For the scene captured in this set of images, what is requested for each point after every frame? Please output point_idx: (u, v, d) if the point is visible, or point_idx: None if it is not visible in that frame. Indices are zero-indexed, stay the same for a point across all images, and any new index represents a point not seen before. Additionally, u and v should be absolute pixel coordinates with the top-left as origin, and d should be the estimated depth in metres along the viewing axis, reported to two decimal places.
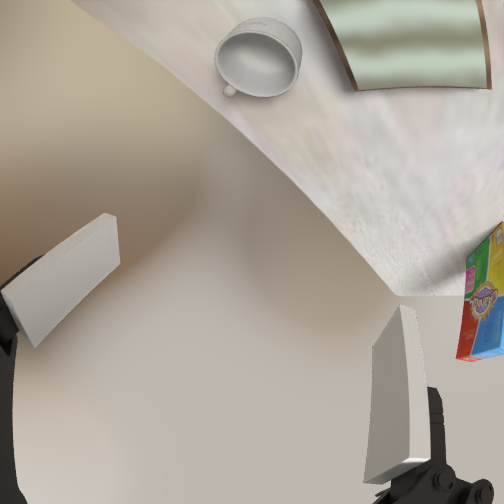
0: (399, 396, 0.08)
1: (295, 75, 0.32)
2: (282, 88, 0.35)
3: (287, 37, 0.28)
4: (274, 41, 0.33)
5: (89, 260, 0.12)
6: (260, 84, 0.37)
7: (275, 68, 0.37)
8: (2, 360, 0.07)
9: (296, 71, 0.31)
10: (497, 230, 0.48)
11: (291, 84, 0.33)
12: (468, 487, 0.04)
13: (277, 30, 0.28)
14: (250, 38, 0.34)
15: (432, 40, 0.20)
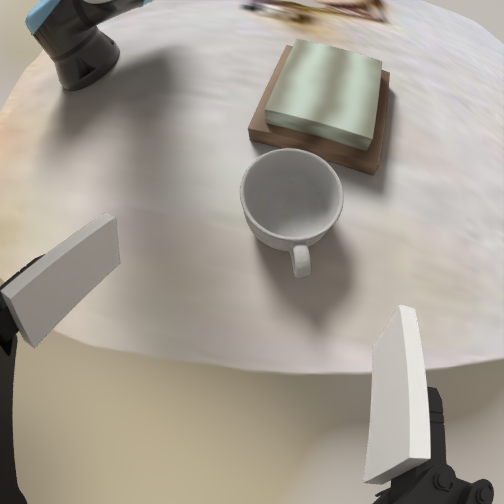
0: (399, 396, 0.08)
1: (329, 167, 0.31)
2: (338, 197, 0.30)
3: None
4: (289, 206, 0.37)
5: (89, 260, 0.12)
6: None
7: (318, 227, 0.35)
8: (2, 360, 0.07)
9: (325, 162, 0.31)
10: None
11: (337, 179, 0.30)
12: (468, 487, 0.04)
13: None
14: (269, 223, 0.36)
15: (337, 71, 0.35)
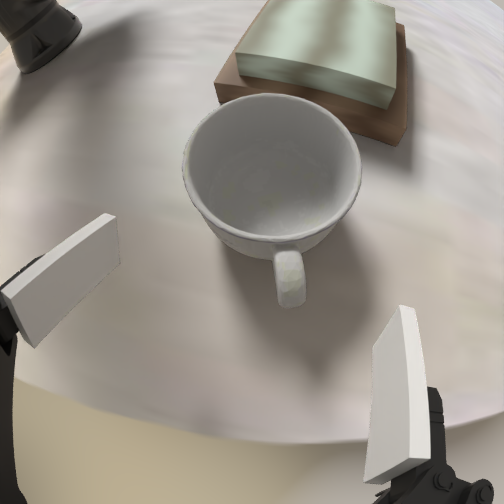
0: (399, 396, 0.08)
1: (334, 119, 0.18)
2: (352, 167, 0.17)
3: None
4: (274, 189, 0.24)
5: (89, 260, 0.12)
6: None
7: (319, 221, 0.22)
8: (2, 360, 0.07)
9: (327, 112, 0.18)
10: None
11: (349, 137, 0.17)
12: (468, 487, 0.04)
13: None
14: (241, 215, 0.23)
15: (338, 12, 0.22)
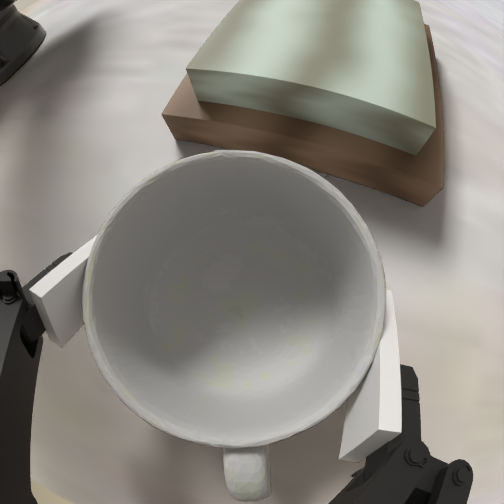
0: (372, 371, 0.09)
1: (346, 207, 0.10)
2: (369, 302, 0.10)
3: None
4: (246, 288, 0.16)
5: None
6: (313, 388, 0.11)
7: (310, 344, 0.15)
8: (25, 362, 0.07)
9: (333, 191, 0.10)
10: None
11: (370, 246, 0.10)
12: (443, 469, 0.05)
13: None
14: (197, 328, 0.16)
15: (345, 4, 0.15)
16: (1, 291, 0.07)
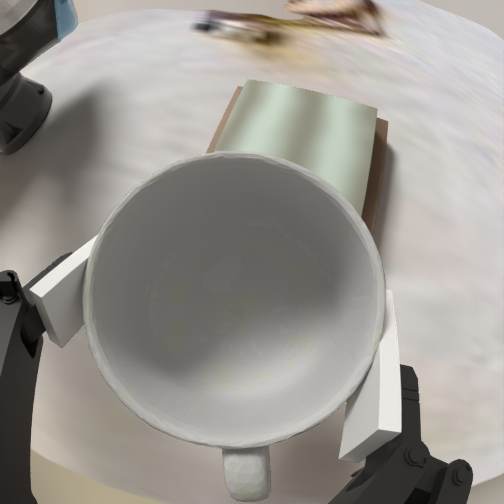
0: (372, 371, 0.09)
1: (346, 208, 0.10)
2: (369, 304, 0.10)
3: None
4: (246, 289, 0.16)
5: None
6: (313, 389, 0.11)
7: (309, 345, 0.15)
8: (26, 362, 0.07)
9: (333, 192, 0.10)
10: None
11: (370, 247, 0.10)
12: (443, 468, 0.05)
13: None
14: (197, 328, 0.16)
15: (305, 136, 0.26)
16: (1, 291, 0.07)
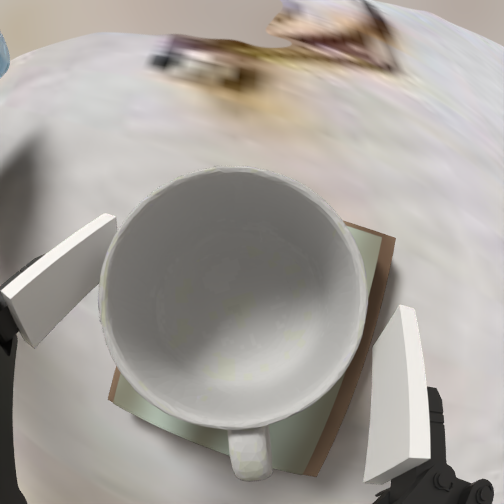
0: (399, 396, 0.08)
1: (330, 214, 0.12)
2: (353, 298, 0.11)
3: None
4: (244, 288, 0.18)
5: (89, 260, 0.12)
6: (307, 376, 0.12)
7: (304, 338, 0.16)
8: (2, 360, 0.07)
9: (319, 200, 0.12)
10: None
11: (352, 249, 0.11)
12: (468, 487, 0.04)
13: None
14: (201, 326, 0.17)
15: None
16: None
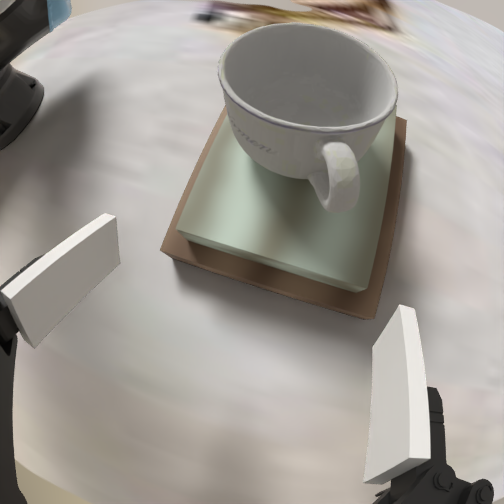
0: (399, 396, 0.08)
1: (364, 45, 0.15)
2: (386, 83, 0.15)
3: None
4: (303, 119, 0.21)
5: (89, 260, 0.12)
6: None
7: None
8: (2, 360, 0.07)
9: (356, 39, 0.15)
10: None
11: (380, 59, 0.15)
12: (468, 487, 0.04)
13: None
14: None
15: None
16: None
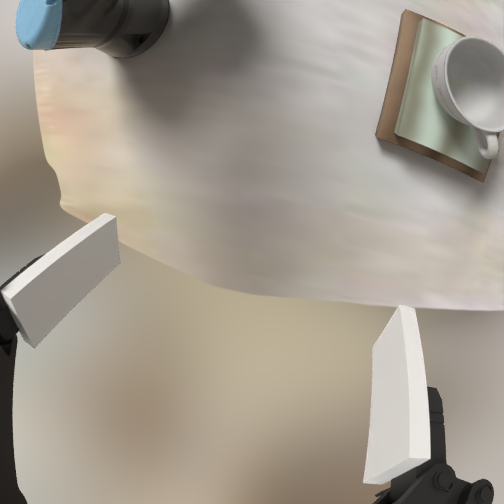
0: (399, 396, 0.08)
1: None
2: None
3: None
4: (463, 77, 0.24)
5: (89, 260, 0.12)
6: (501, 118, 0.21)
7: (489, 103, 0.24)
8: (2, 360, 0.07)
9: None
10: None
11: None
12: (468, 487, 0.04)
13: None
14: None
15: None
16: None
